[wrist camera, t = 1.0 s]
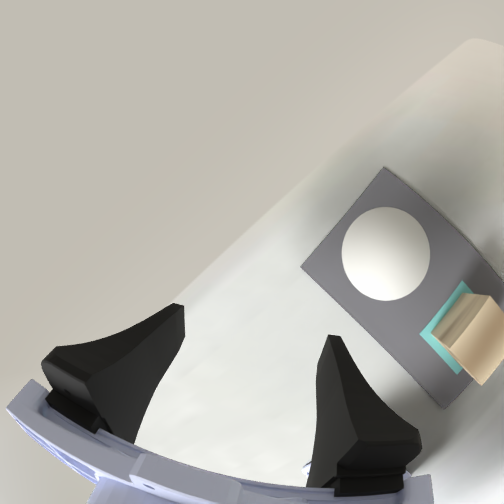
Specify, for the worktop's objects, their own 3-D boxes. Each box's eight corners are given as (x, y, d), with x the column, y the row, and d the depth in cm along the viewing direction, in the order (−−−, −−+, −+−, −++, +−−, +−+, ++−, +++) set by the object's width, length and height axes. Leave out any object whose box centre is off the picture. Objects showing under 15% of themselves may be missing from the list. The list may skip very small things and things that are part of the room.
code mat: (522, 310, 15) (524, 310, 15) (443, 407, 17) (444, 409, 17) (383, 168, 22) (383, 166, 22) (301, 267, 25) (299, 266, 24)
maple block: (489, 324, 16) (520, 335, 11) (458, 363, 17) (481, 385, 12) (462, 292, 18) (490, 295, 13) (430, 332, 19) (449, 348, 13)
